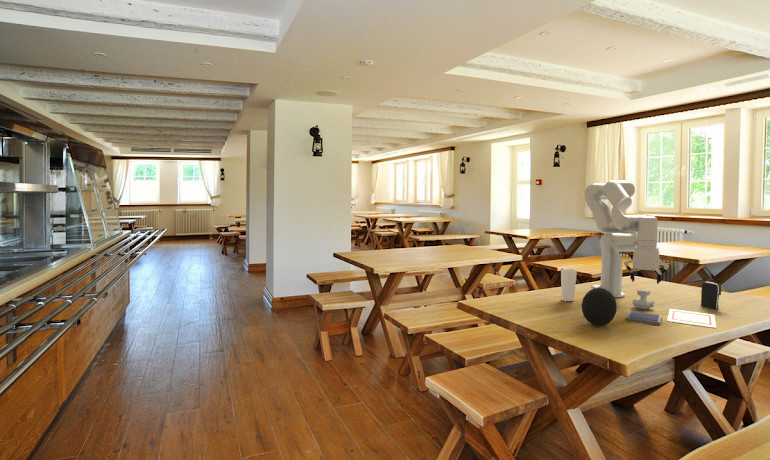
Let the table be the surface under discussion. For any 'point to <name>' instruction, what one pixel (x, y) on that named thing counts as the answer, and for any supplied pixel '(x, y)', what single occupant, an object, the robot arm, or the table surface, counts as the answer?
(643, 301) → the stamp
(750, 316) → the table surface
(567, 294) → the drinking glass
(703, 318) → the paper sheet
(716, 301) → the battery charger
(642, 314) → the ink pad
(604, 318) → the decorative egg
